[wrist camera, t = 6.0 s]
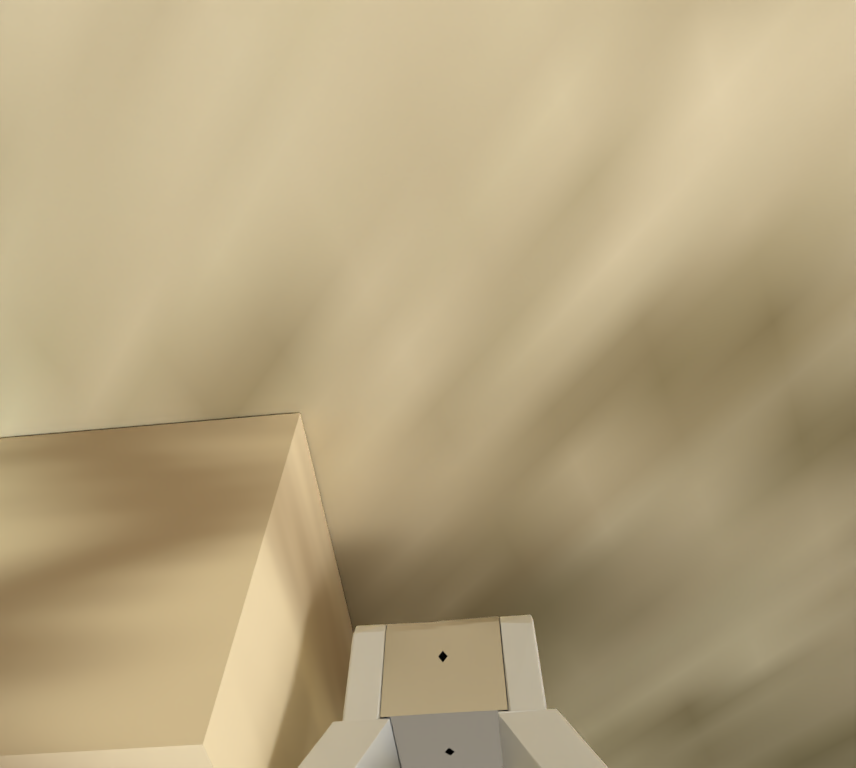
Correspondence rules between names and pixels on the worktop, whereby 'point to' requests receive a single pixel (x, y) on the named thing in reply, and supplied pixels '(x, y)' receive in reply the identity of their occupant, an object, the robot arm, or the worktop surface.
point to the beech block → (167, 598)
